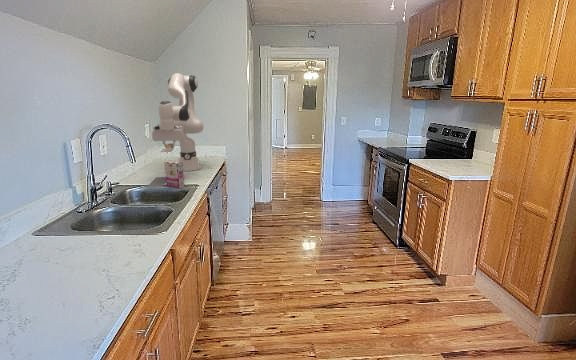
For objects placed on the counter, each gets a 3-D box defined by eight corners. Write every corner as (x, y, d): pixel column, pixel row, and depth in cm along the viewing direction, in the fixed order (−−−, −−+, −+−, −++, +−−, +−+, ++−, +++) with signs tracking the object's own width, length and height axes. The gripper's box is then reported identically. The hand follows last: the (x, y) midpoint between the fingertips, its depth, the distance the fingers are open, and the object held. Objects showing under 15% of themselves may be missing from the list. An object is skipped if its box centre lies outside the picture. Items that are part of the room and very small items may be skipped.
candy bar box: (185, 187, 210) (183, 161, 206) (179, 189, 206) (177, 163, 202) (172, 185, 215) (170, 160, 211) (166, 186, 211) (163, 161, 207)
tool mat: (156, 178, 233) (156, 177, 233) (170, 177, 235) (170, 176, 234) (147, 187, 210) (146, 186, 210) (163, 186, 212) (163, 185, 211)
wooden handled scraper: (167, 147, 227) (166, 143, 226) (176, 147, 228) (175, 143, 227) (160, 152, 211) (160, 147, 210) (170, 151, 211) (170, 147, 210)
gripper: (184, 125, 222) (186, 146, 225) (153, 126, 220) (155, 147, 223) (182, 126, 216) (184, 147, 219) (150, 127, 214) (152, 148, 217)
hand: (169, 147), depth 221 cm, fingers closed on wooden handled scraper, 3 cm apart
